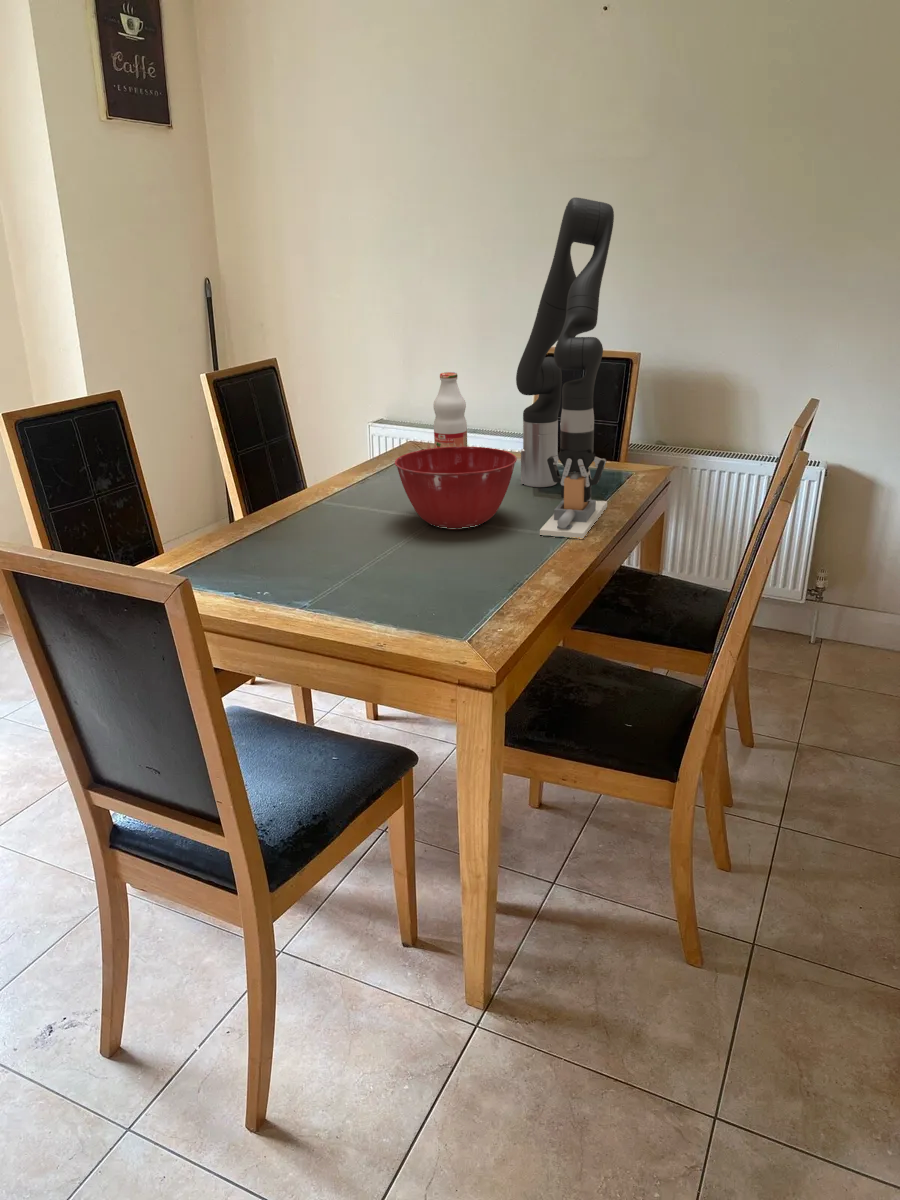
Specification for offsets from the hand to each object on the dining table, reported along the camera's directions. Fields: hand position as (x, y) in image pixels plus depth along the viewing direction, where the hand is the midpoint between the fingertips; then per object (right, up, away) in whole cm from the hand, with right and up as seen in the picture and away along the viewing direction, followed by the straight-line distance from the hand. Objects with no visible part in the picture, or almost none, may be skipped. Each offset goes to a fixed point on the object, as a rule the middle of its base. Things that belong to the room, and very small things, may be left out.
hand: (575, 500), depth 212 cm
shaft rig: (0, -5, +2) cm, 5 cm away
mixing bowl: (-28, -5, +5) cm, 29 cm away
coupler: (0, -2, +1) cm, 2 cm away
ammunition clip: (-30, +7, +35) cm, 47 cm away
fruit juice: (-29, +13, +49) cm, 59 cm away
